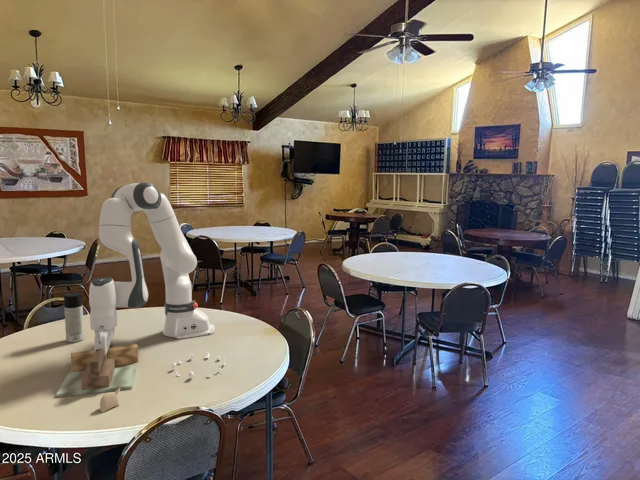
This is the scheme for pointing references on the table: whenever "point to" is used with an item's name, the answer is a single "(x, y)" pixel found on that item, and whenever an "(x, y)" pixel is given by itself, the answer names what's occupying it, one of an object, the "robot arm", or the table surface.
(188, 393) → the table surface
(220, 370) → the game piece set
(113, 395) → the decorative ornament
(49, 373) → the table surface
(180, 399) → the table surface
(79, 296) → the spray can
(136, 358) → the oak slat
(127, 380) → the ridge stand
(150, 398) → the table surface
